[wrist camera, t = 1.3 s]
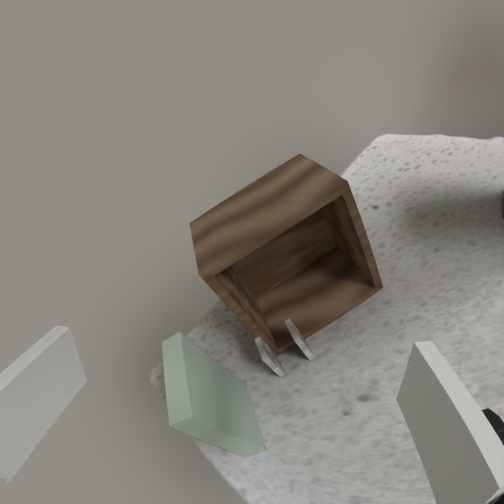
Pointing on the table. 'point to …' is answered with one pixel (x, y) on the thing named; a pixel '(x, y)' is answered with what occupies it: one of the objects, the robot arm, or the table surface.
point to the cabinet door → (208, 399)
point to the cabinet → (287, 255)
